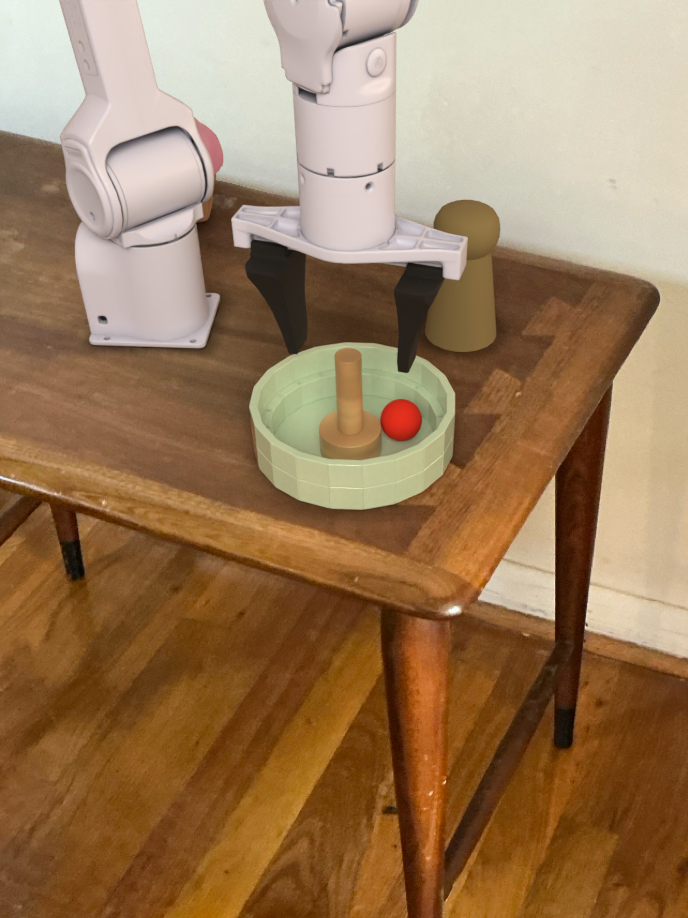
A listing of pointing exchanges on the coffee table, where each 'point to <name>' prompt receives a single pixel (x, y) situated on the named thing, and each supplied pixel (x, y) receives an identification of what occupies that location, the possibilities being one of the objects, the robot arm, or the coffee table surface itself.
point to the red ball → (401, 420)
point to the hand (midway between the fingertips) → (351, 355)
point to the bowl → (314, 397)
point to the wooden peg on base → (349, 415)
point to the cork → (466, 281)
